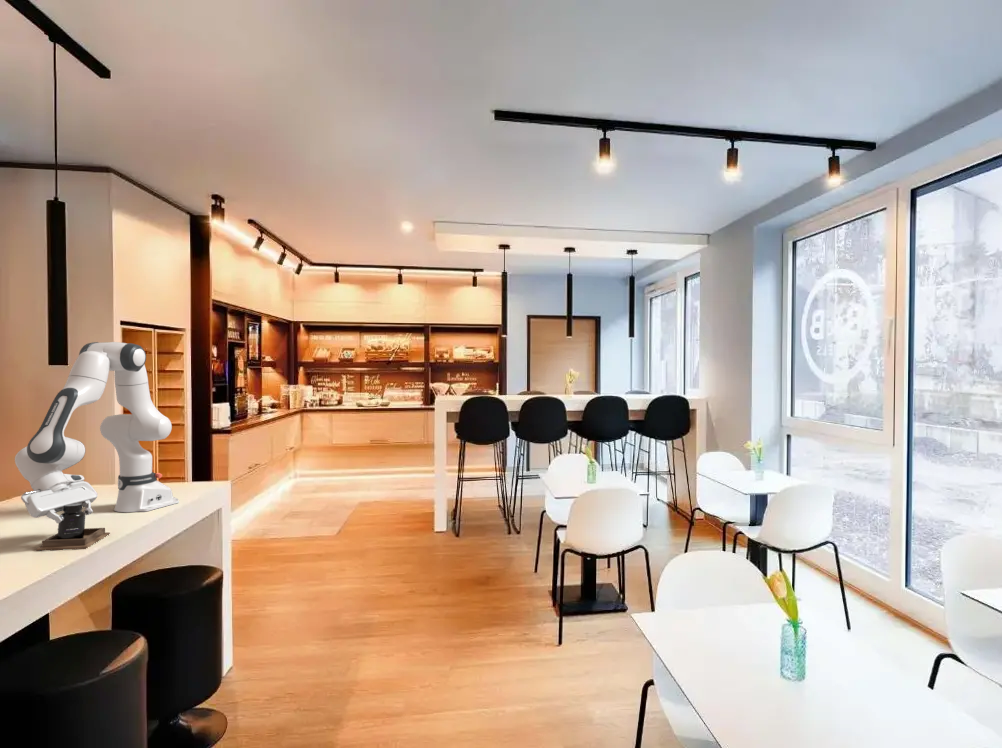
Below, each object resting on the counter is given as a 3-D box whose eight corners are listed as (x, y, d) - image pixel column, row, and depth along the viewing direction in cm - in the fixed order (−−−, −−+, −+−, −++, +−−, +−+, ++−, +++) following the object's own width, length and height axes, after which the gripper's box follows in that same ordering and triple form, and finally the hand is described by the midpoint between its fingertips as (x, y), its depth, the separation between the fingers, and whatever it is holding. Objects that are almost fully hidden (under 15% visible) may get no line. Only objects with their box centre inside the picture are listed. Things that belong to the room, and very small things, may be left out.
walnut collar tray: (63, 536, 176) (63, 528, 176) (109, 534, 179) (109, 526, 179) (36, 551, 162) (36, 542, 162) (86, 548, 165) (86, 540, 165)
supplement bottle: (68, 544, 165) (70, 507, 166) (51, 543, 167) (53, 506, 167) (89, 538, 172) (91, 503, 172) (73, 537, 173) (75, 501, 174)
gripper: (24, 487, 161) (49, 520, 160) (87, 474, 182) (109, 503, 180) (12, 500, 162) (37, 533, 161) (76, 485, 182) (99, 515, 181)
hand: (76, 517), depth 171 cm, fingers open, 8 cm apart
